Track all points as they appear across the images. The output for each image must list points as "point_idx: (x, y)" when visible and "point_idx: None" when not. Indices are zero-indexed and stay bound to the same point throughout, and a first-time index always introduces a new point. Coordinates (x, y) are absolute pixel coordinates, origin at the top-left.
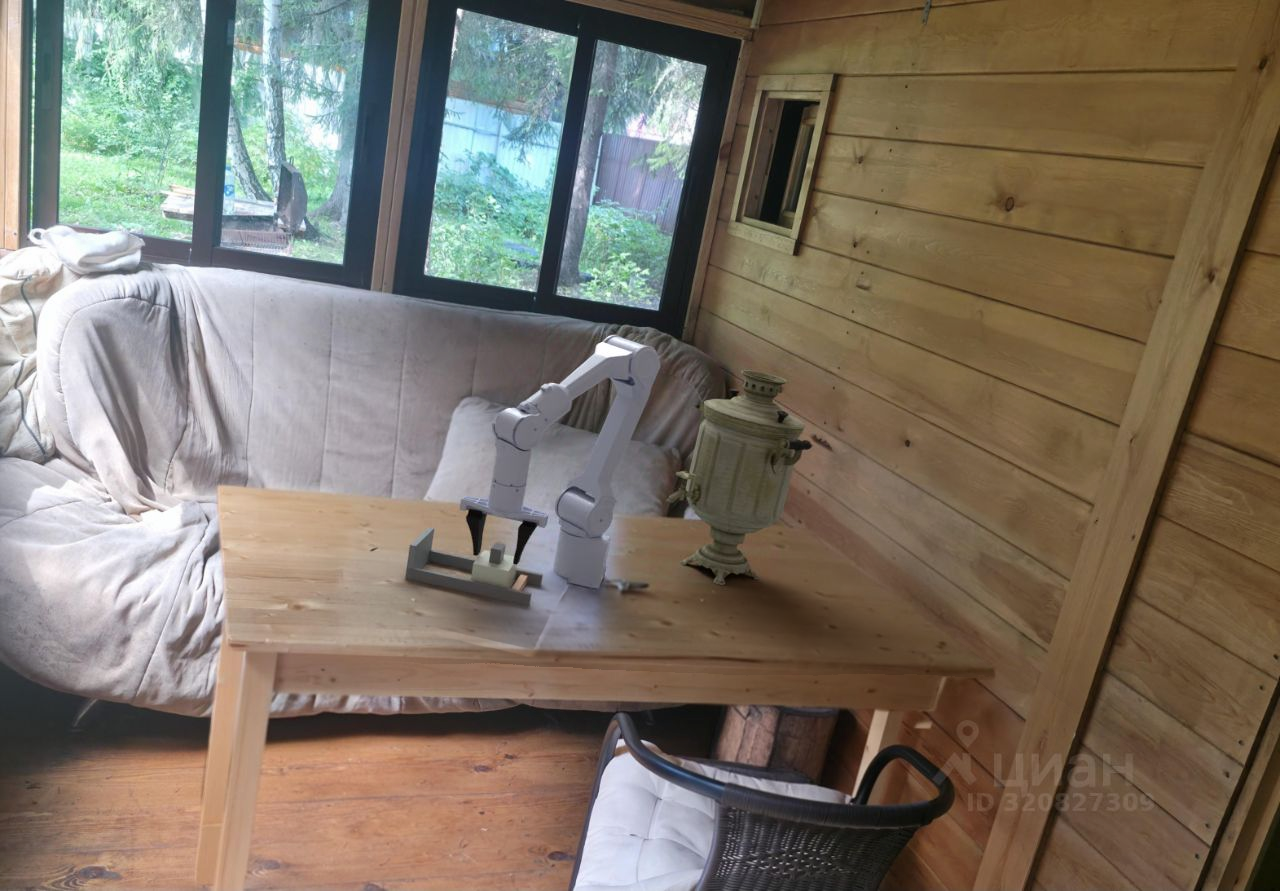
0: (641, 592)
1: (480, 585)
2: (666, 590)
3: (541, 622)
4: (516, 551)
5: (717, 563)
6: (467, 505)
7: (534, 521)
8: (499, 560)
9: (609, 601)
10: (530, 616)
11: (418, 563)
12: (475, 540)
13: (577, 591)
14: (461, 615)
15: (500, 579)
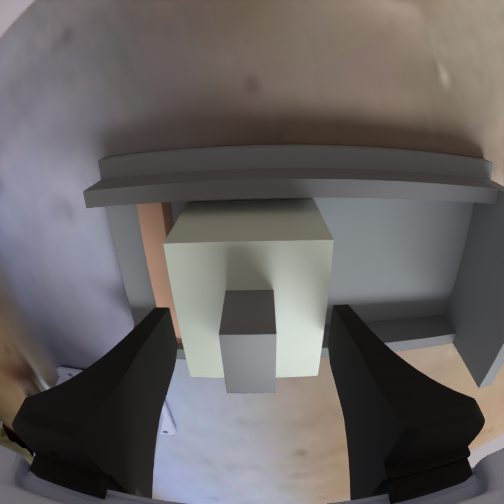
0: (17, 377)
1: (271, 176)
2: (7, 391)
3: (56, 126)
4: (140, 339)
5: (2, 444)
6: (488, 488)
7: (50, 487)
8: (225, 301)
9: (19, 327)
10: (89, 142)
11: (484, 243)
12: (368, 343)
13: (78, 346)
14: (281, 21)
15: (200, 222)
